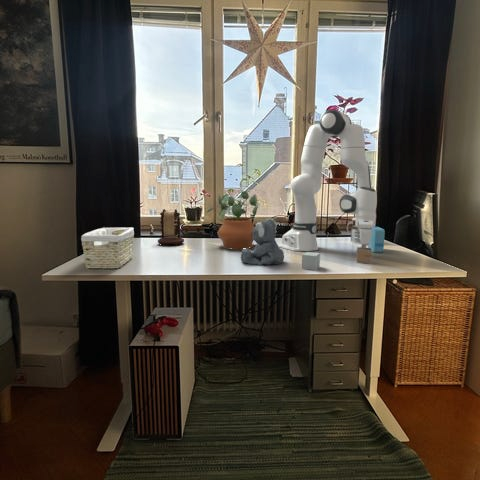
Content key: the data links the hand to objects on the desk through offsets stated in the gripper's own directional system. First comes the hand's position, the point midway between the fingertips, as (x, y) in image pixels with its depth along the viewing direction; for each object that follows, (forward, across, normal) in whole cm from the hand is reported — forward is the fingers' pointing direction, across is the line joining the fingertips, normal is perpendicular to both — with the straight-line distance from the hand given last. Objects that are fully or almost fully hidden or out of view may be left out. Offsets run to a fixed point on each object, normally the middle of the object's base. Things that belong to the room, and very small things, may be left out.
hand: (363, 251), depth 166 cm
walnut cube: (+3, +9, 0) cm, 9 cm away
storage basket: (+3, +45, -107) cm, 116 cm away
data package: (+3, -19, +6) cm, 20 cm away
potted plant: (+3, -6, -68) cm, 68 cm away
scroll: (+3, -3, -103) cm, 103 cm away
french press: (+3, -39, -2) cm, 39 cm away
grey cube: (+3, +26, -22) cm, 34 cm away
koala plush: (+3, +22, -43) cm, 48 cm away
